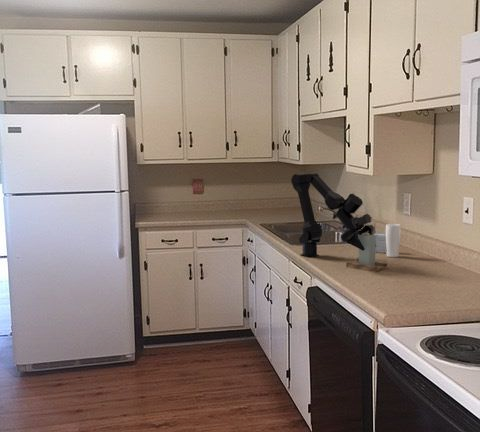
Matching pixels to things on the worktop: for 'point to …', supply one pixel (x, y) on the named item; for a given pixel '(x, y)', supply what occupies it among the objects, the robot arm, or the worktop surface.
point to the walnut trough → (367, 266)
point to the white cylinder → (393, 239)
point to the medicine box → (380, 243)
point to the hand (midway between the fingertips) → (369, 248)
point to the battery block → (367, 249)
